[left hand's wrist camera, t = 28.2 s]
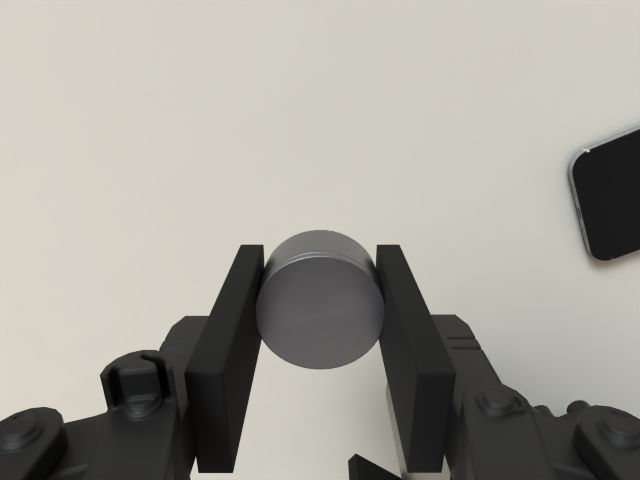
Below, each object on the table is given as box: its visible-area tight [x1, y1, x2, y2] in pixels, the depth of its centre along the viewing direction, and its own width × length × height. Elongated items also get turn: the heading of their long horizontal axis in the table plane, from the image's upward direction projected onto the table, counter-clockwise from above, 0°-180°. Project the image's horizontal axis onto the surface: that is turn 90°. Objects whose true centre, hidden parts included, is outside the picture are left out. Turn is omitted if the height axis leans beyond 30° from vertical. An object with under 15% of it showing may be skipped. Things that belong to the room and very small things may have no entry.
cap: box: [255, 230, 385, 369], centre depth 14 cm, size 4×4×2 cm
